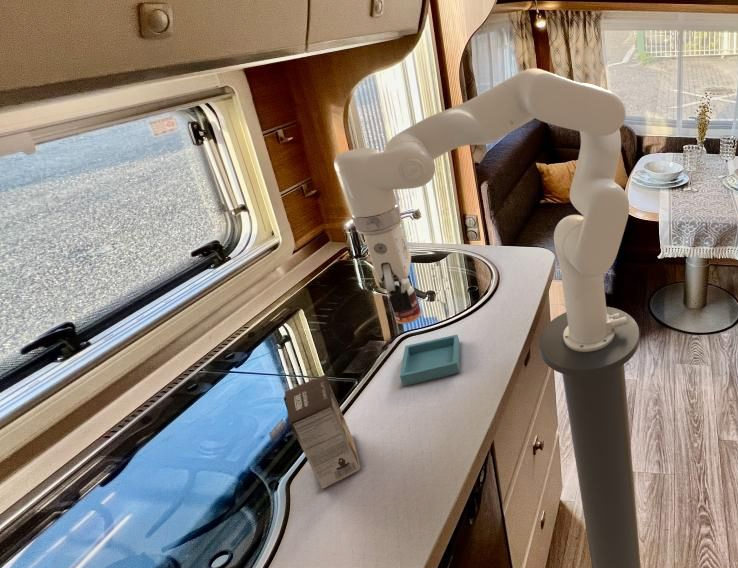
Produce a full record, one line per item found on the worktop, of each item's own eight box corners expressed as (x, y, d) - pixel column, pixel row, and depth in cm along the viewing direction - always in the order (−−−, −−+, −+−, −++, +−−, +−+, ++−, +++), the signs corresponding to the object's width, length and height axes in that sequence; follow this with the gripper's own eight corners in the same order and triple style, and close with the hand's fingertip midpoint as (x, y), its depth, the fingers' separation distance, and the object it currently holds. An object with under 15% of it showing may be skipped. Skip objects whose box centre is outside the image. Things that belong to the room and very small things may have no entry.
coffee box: (315, 455, 92) (283, 390, 85) (353, 437, 95) (325, 372, 88) (321, 490, 85) (288, 422, 78) (362, 469, 89) (333, 402, 82)
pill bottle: (403, 328, 96) (391, 291, 92) (391, 319, 98) (379, 283, 95) (426, 315, 99) (415, 279, 95) (414, 307, 102) (403, 272, 98)
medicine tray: (459, 343, 119) (457, 334, 118) (459, 372, 110) (456, 363, 109) (408, 355, 116) (405, 345, 115) (403, 386, 107) (399, 376, 106)
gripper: (395, 233, 83) (423, 322, 91) (403, 197, 97) (426, 276, 105) (345, 242, 81) (378, 332, 89) (361, 204, 95) (388, 284, 103)
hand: (404, 301), depth 97 cm, fingers closed on pill bottle, 4 cm apart
